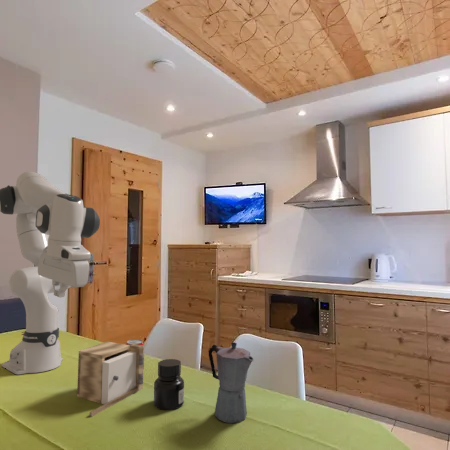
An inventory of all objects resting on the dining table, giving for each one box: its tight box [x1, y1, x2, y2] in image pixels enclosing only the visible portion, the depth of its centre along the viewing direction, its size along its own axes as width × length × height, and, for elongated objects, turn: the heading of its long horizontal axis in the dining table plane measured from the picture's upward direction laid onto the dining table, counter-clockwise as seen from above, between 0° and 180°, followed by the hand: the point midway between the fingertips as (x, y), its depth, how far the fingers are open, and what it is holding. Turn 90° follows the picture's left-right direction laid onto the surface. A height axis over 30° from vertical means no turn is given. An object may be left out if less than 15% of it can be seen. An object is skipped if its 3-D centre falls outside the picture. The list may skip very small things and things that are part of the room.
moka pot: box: [208, 342, 255, 424], centre depth 94 cm, size 10×15×20 cm, turn 58°
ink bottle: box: [153, 358, 185, 411], centre depth 100 cm, size 10×9×12 cm
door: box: [100, 351, 136, 405], centre depth 104 cm, size 3×12×12 cm, turn 154°
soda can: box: [125, 339, 145, 371], centre depth 123 cm, size 7×7×12 cm
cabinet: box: [76, 341, 145, 418], centre depth 104 cm, size 15×21×14 cm
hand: (59, 296), depth 98 cm, fingers closed
